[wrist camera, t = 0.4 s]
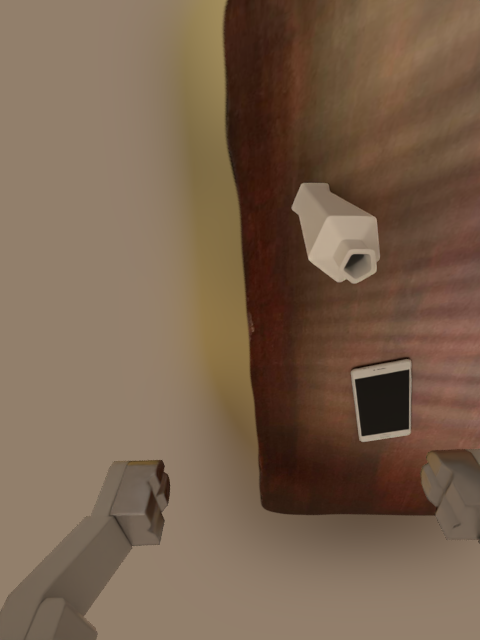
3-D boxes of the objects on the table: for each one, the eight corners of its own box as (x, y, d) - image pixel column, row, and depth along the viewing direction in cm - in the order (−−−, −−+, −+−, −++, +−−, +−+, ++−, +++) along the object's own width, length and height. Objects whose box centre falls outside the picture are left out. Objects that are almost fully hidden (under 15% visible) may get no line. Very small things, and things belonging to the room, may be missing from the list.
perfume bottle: (286, 226, 32) (312, 302, 19) (290, 179, 29) (322, 229, 17) (332, 227, 32) (388, 303, 19) (340, 179, 29) (410, 231, 17)
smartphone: (360, 442, 49) (350, 371, 41) (358, 439, 49) (349, 368, 42) (411, 435, 48) (412, 359, 40) (410, 431, 48) (410, 356, 40)
